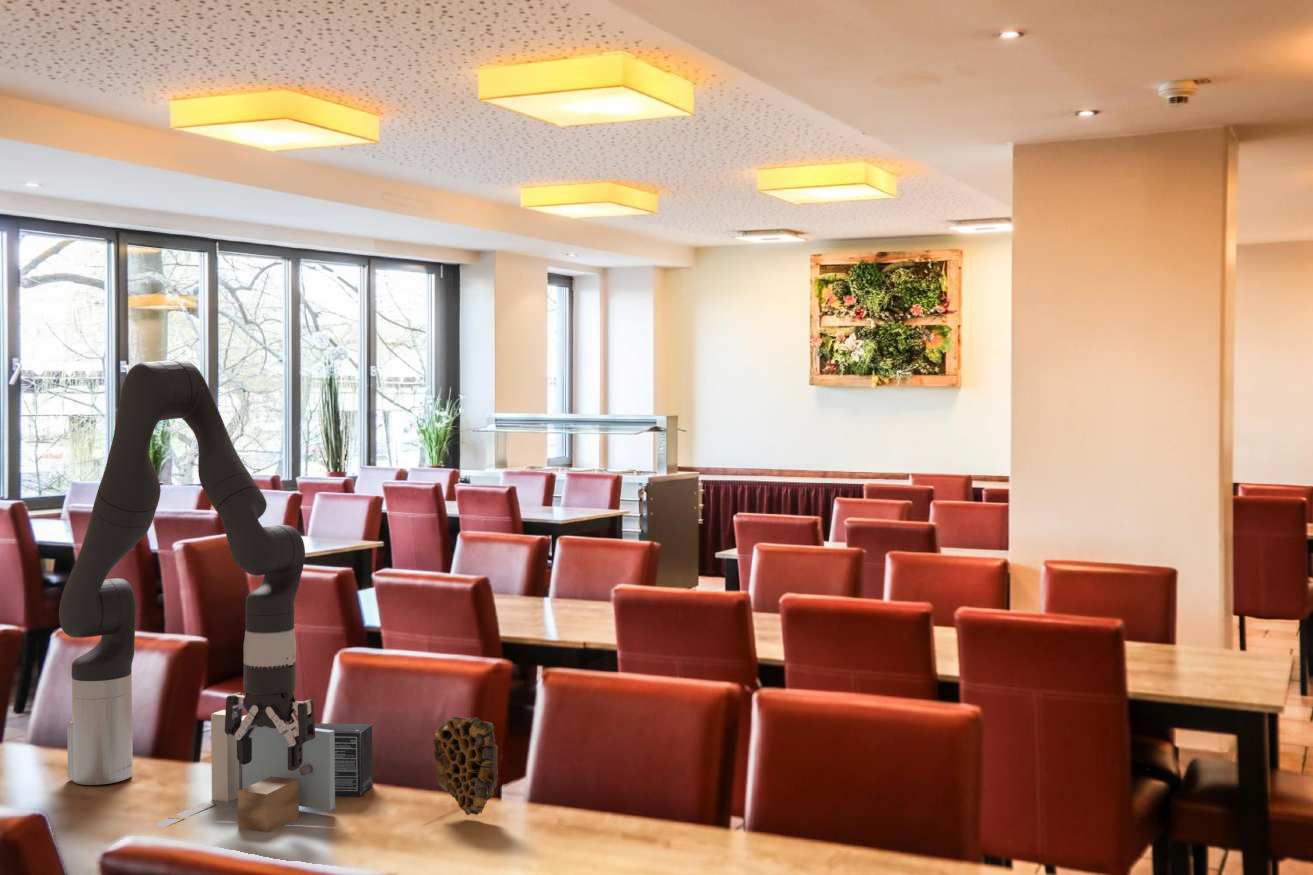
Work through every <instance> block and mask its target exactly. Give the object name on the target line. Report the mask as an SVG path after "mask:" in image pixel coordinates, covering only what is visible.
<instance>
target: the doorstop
mask: <svg viewBox="0 0 1313 875" xmlns="http://www.w3.org/2000/svg"><path fill="white" fill-rule="evenodd" d="M237 808H238V810H237V812H238V813H237V814H238V818H237V819H238V820H237V821H238V827H237V828H238V829H240V830H243V829H244V830H246V831H247V830H248V831H256V832H262V833H269V832H271V831H273V830H276V829H278V828H280V827H282V826H285V824H286V823H288V822H290V821H293V820H295V819H297V818H299V817H300V806H299V779H292V778H282V777H272V776H271V777H268V778H266V779H264V780H262V781H259V782H257V783H255V784H253V785H251V786H248V787H246V788H244V789H242V790H239V791H238V798H237Z"/></svg>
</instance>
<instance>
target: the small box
mask: <svg viewBox="0 0 1313 875" xmlns="http://www.w3.org/2000/svg"><path fill="white" fill-rule="evenodd" d="M315 728H317V729H326V730H334V740H335V797H338V796H339V797H341V796H343V797H361V796H363V795H364V794H365V793H366V792H367V791H369V789H371V788H372V787H373V786H374V783H373V781H374V780H373V778H374V776H373V774H374V772H373V769H374V768H373V724H372V723H318V722H317V723H315Z"/></svg>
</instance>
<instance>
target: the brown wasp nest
mask: <svg viewBox="0 0 1313 875" xmlns="http://www.w3.org/2000/svg"><path fill="white" fill-rule="evenodd" d="M494 731H495V728H494V723H493V722H489V721H484V720H481V718H478V717H475V716H472V717H463V716H454V717H451V718H450V719H447V721H446V723H442V724H441V725H440V727H439V729H436V730H435V733H434V738H433V757H434V760H435V763H436V780H437V785H439V786H440V787H441V788H442V789H443V790H444V791H445V792H448V793H449V794H450V795H451V797H452V798H454V799H455V802H457V805H458V807H459V808H460V809H461V810H462V811H464V813H465V814H466V816H471V815H479V814H483V810H484V808H486V807H485V806H486V804H487V802H488V801H489V800H491V798H492V797H493V796H494V795H495V794H494V789H495V788H497V785H498V780H499V778H498V774H499V771H498V770H499V769H498V765H499V763H498V754H499V751H498V750H499V746H498V745H497V744H496V738H495V733H494Z"/></svg>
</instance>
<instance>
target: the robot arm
mask: <svg viewBox="0 0 1313 875" xmlns="http://www.w3.org/2000/svg"><path fill="white" fill-rule="evenodd" d="M176 419H182V420H183V421H184V422H185V423H186V425H187V426H188V427H189V428H190V429H191V431H192V433H193V434H194V437H195V439H196V442H197V448H198V449H197V450H198V451H197V452H198V459H197V460H198V462H197V466H198V467H197V468H198V470H197V472H198V478H199V482H200V485H201V487H202V490H203V491H204V493H205V495H206V497H207V499H208V500H209V502H210V504H211V505H212V507H213V508H214V510H215V512H216V513H217V515H218V516H219V518H220V519H221V521H222V523H223V527H224V533H225V536H226V540H227V543H228V546H229V549H230V552H231V555H232V557H233V558H232V559H234V561H235V563H236V564H237V566H239V567H240V569H242V570H243V572H245V573H246V574H248V575H251V576H256V577H257V576H263V580H262V583H261V585H260V586H259V587H258V588H256V589H255V590H253V591H251V592H250V593H248V595H247V596H246V599H245V631H244V639H243V691H244V692H245V695H243V693H242V692H240V691H239V692H236V693H233V694H230V695H228V696H227V697H226V699H225V701H226V702H225V710H226V714H225V733H226V734H227V735H229V734H231V735H233V736H234V737H235V738H236V740H237V759H238V760H239V764H243V765H245V764H247V763H250V762H251V760H252V737H249V736H250V735H251V734H252V732H253V731H254V729H255V728H256V727H264V726H266V727H269V728H274V729H275V728H277V729H278V731H279V732H280V734H282V735H284V736H285V738H286V740H287V741H288V743H289V745H290V746H288V770H291V771H294V770H296V769H298V768H299V767H300V765H302V762H303V758H302V757H303V743H305V742H307V741H309V740H312V739H314V738H315V722H316V720H315V704H314V701H313V699H308V700H304V701H301V700H296V697H295V690H296V686H297V683H296V682H297V677H296V676H297V667H296V666H297V640H296V635H295V634H296V633H295V598H296V596H297V593H298V590H299V586H300V581H301V577H302V574H303V570H304V569H303V568H304V564H305V558H306V547H305V543H304V539H303V538H302V535H301V534H300V532H299V531H298V530H297V529H296V528H295V527H293V526H292V525H286V524H279V525H272V526H262V524H261V523H260V521H259V519H260V518H261V517H262V516H263V515H264V514H265V512H266V510H267V507H268V506H267V505H268V504H267V500H266V498H265V496H264V494H263V492H262V490H261V489H260V488H259V486H258V485H257V483H256V481H255V480H254V478H253V477H252V475H251V474H250V472H249V471H248V468H246V465H245V464H244V462H243V460H242V459H241V457H240V456H239V454H238V452H237V450H236V448H235V445H234V443H232V440H231V437H230V435H229V433H228V430H227V427H226V425H225V422H224V421H223V418H222V415H221V413H220V411H219V409H218V406H217V404H216V402H215V400H214V397H213V395H212V392H211V390H210V388H209V386H208V384H207V382H206V380H205V378H204V375H203V374H202V373H201V371H200V370H199V369H198V368H197V366H196V365H195V364H193V363H192V362H190V361H188V360H185V359H184V360H183V359H171V360H170V359H169V360H168V359H167V360H155V361H143V362H140V363H137V364H134V365H133V366H132V367H131V368H130V369H129V370H128V372H127V374H126V376H125V378H124V380H123V384H122V387H121V392H120V396H119V402H118V408H117V413H116V420H115V425H114V430H113V431H114V432H113V436H112V440H111V441H112V442H111V445H110V448H109V453H108V457H107V461H106V464H105V467H104V470H103V474H102V477H101V480H100V483H99V486H98V488H97V492H96V496H95V498H94V503H93V506H92V509H91V514H90V518H89V522H88V525H87V529H86V532H85V535H84V538H83V542H82V545H81V547H80V550H79V553H78V555H77V558H76V561H75V563H74V565H73V567H72V569H71V572H70V574H69V576H68V578H67V581H66V582H65V585H64V589H63V591H62V594H61V599H60V601H59V602H60V603H59V606H58V607H59V610H58V619H59V624H60V628H61V629H62V631H63V632H64V634H65V635H67V636H68V637H71V638H76V639H80V638H81V639H82V638H83V639H84V638H92V637H99V636H101V638H100V640H99V642H98V643H97V644H96V645H95V646H94V647H93V648H92V649H90V650H89V651H88V652H86V653H83V654H82V655H81V656H79V657H77V658H75V659H74V660H73V662H72V663H71V720H72V721H69V722H68V723H67V727H66V730H67V731H66V732H67V733H66V734H67V780H69V781H73V783H75V784H78V785H84V786H99V785H107V784H113V783H117V782H122V781H124V780H127V779H129V778H131V777H132V776H133V773H134V772H133V770H134V769H133V766H134V765H133V691H132V690H133V688H132V687H133V686H132V685H133V680H132V679H133V678H132V677H133V676H132V675H133V673H132V669H133V668H132V664H133V660H134V657H135V645H136V644H135V643H136V642H135V638H136V637H135V634H136V622H137V621H136V618H137V615H136V614H137V608H136V607H137V606H136V597H135V596H136V595H135V592H134V589H133V587H132V586H131V584H130V583H129V581H128V580H127V579H123V578H121V577H120V578H119V577H118V578H117V577H116V578H107V577H108V575H109V573H110V572H111V571H112V569H113V567H115V566H116V564H118V562H119V561H121V559H123V558H124V557H125V556H126V555H127V554H128V553H129V552H130V551H132V549H133V548H135V546H136V545H137V544H138V543H139V542H140V541H141V540H142V539H143V538H144V537H145V536H146V535H147V533H148V532H149V530H150V527H151V525H152V523H153V521H154V518H155V514H156V511H157V509H158V506H159V505H158V504H159V501H160V498H161V492H162V491H161V490H162V489H161V483H160V480H159V476H158V473H157V471H156V468H155V466H154V464H153V461H152V459H151V456H150V447H151V443H152V438H153V434H154V431H155V428H156V426H157V424H158V423H159V422H160V421H167V420H176ZM106 578H107V579H106ZM243 708H245V709H246V712H247V714H246V717H245V718H244V720H243V721H242V716H243ZM294 711H295V714H294ZM295 715H296V716H297V718H296V717H295ZM286 723H287V724H286Z"/></svg>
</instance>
